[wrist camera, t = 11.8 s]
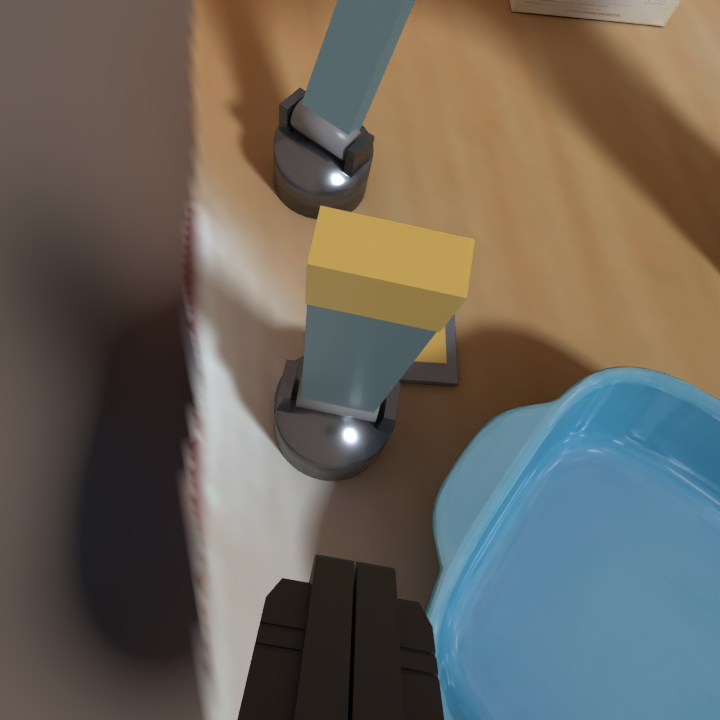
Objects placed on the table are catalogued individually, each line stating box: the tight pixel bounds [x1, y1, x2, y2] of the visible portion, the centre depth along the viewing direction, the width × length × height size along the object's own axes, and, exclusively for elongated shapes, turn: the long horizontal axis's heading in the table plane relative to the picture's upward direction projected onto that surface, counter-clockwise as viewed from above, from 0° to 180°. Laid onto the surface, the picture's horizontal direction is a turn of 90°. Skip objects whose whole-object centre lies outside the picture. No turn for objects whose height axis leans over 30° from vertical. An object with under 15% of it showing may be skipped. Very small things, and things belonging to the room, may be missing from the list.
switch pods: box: [274, 88, 401, 480], centre depth 35 cm, size 24×6×6 cm, turn 3°
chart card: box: [398, 315, 458, 386], centre depth 38 cm, size 11×4×1 cm, turn 179°
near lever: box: [296, 205, 475, 422], centre depth 22 cm, size 2×4×18 cm, turn 80°
